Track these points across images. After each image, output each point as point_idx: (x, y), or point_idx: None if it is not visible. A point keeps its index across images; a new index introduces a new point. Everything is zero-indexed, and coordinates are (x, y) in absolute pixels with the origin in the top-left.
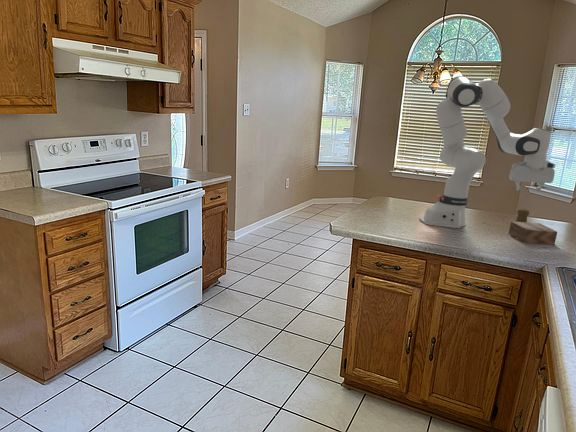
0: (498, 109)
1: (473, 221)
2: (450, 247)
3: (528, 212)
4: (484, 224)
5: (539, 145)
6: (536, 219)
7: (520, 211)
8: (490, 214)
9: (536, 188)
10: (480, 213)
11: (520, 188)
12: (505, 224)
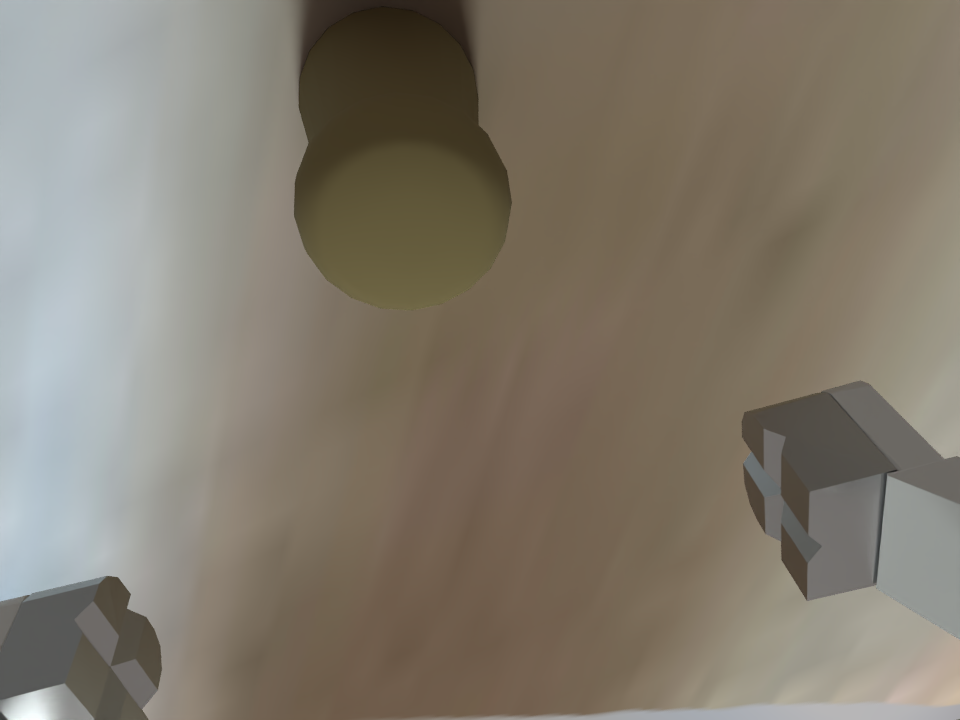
0: None
1: (891, 268)
2: None
3: (321, 144)
4: (805, 184)
5: None
6: None
7: (483, 143)
8: (549, 648)
9: (127, 714)
10: (647, 633)
11: (825, 439)
12: (506, 325)
